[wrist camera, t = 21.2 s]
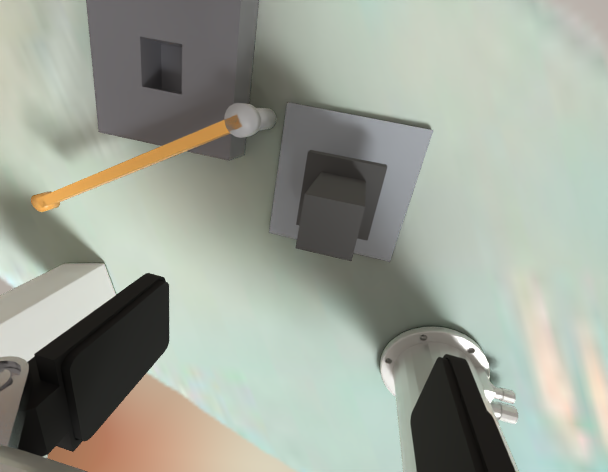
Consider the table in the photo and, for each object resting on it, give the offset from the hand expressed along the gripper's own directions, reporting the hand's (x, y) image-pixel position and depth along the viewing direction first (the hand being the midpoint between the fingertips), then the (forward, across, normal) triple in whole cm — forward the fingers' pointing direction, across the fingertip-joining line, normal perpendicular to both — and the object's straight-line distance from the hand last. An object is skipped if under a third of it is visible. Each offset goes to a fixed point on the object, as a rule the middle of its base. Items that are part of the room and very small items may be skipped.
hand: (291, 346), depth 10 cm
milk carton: (+24, +32, +22) cm, 46 cm away
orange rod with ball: (+18, +19, +1) cm, 27 cm away
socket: (+24, +17, -8) cm, 30 cm away
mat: (+24, 0, 0) cm, 24 cm away
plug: (+23, 0, 0) cm, 23 cm away
